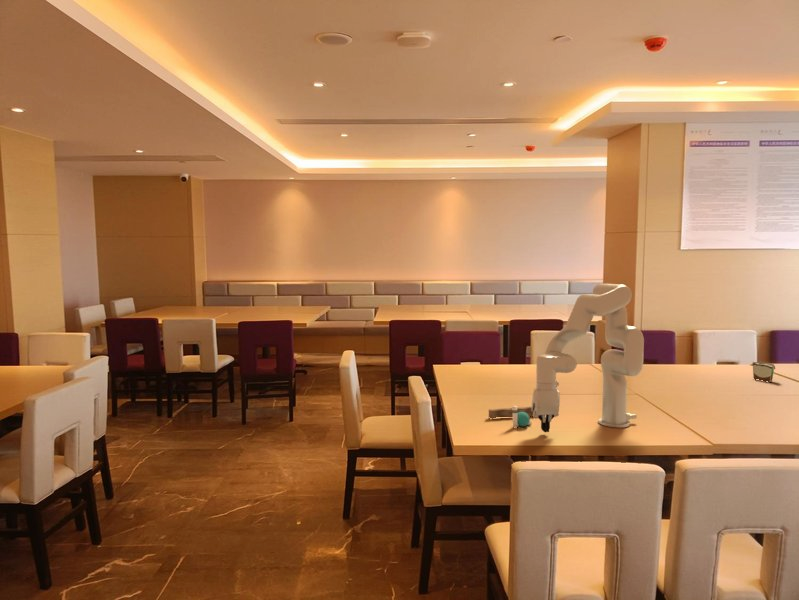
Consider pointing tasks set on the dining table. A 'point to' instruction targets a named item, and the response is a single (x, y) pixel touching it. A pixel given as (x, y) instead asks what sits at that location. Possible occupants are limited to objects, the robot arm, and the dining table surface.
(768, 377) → the food container
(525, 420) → the ball
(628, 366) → the robot arm
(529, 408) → the back wall
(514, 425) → the pin
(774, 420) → the dining table surface
